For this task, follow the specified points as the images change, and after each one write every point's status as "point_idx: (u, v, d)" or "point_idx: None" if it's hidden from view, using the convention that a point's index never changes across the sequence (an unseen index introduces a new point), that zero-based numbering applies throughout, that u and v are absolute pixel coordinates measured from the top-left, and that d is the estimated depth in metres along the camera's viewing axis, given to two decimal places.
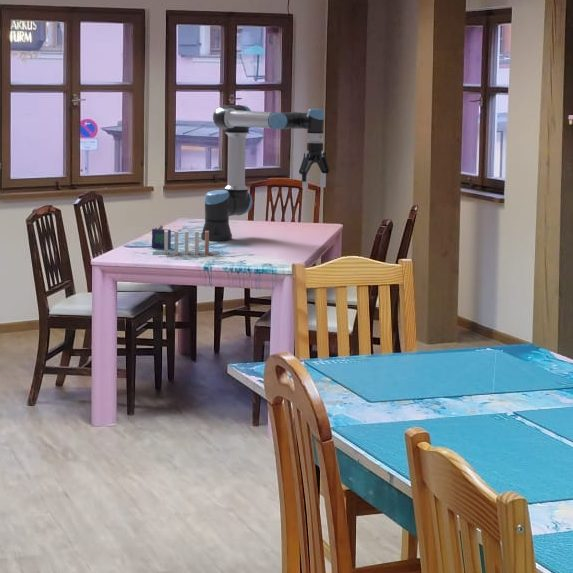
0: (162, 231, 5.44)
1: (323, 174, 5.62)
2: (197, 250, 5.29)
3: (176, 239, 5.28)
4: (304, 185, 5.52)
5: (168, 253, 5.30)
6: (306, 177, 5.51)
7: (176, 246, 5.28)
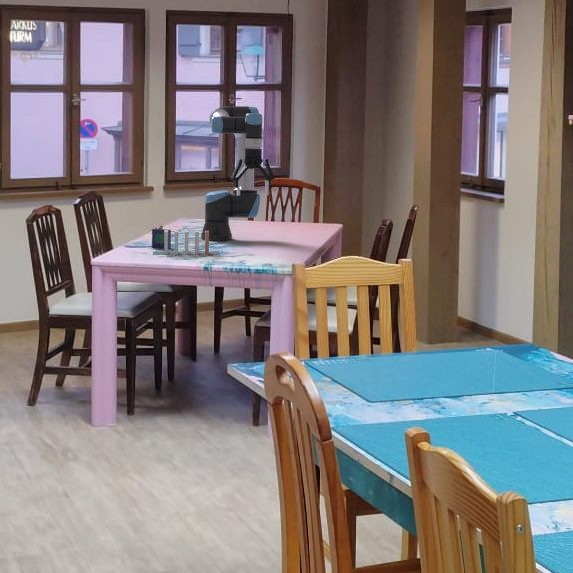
0: (162, 231, 5.44)
1: (266, 181, 5.39)
2: (197, 250, 5.29)
3: (176, 239, 5.28)
4: (237, 192, 5.35)
5: (168, 253, 5.30)
6: (238, 183, 5.34)
7: (176, 246, 5.28)
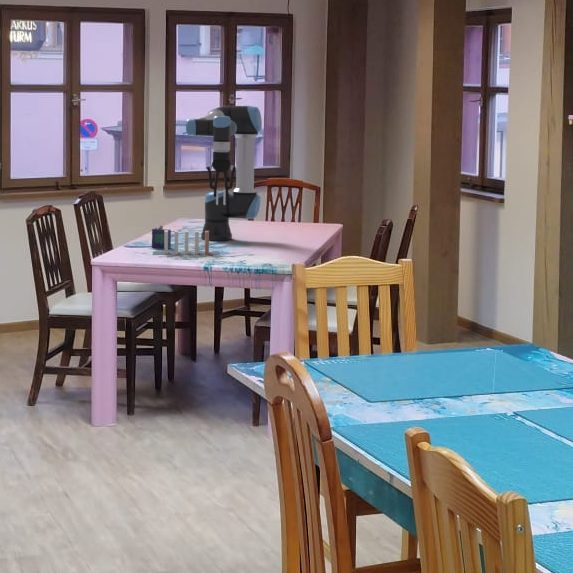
0: (162, 231, 5.44)
1: (223, 191, 5.28)
2: (197, 250, 5.29)
3: (176, 239, 5.28)
4: (216, 200, 5.29)
5: (168, 253, 5.30)
6: (216, 192, 5.27)
7: (176, 246, 5.28)
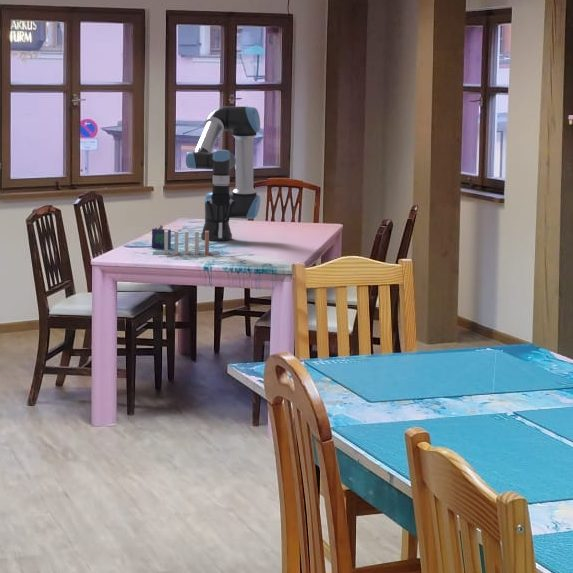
0: (162, 231, 5.44)
1: None
2: (197, 250, 5.29)
3: (176, 239, 5.28)
4: (218, 234, 5.32)
5: (168, 253, 5.30)
6: (218, 226, 5.30)
7: (176, 246, 5.28)
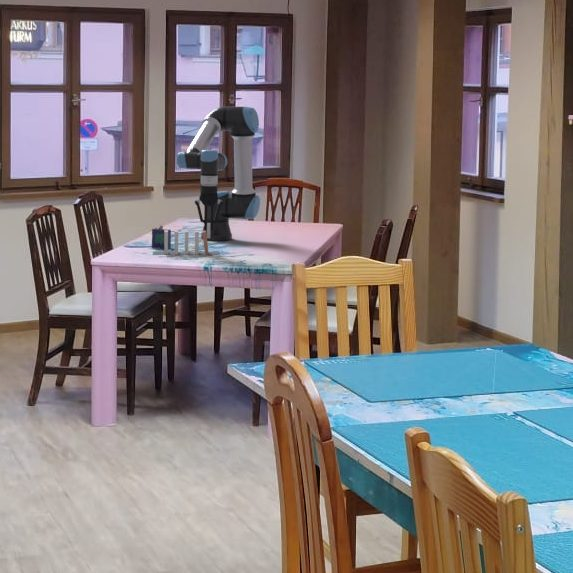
0: (162, 231, 5.44)
1: None
2: (197, 250, 5.29)
3: (176, 239, 5.28)
4: (206, 234, 5.31)
5: (168, 253, 5.30)
6: (207, 226, 5.29)
7: (176, 246, 5.28)
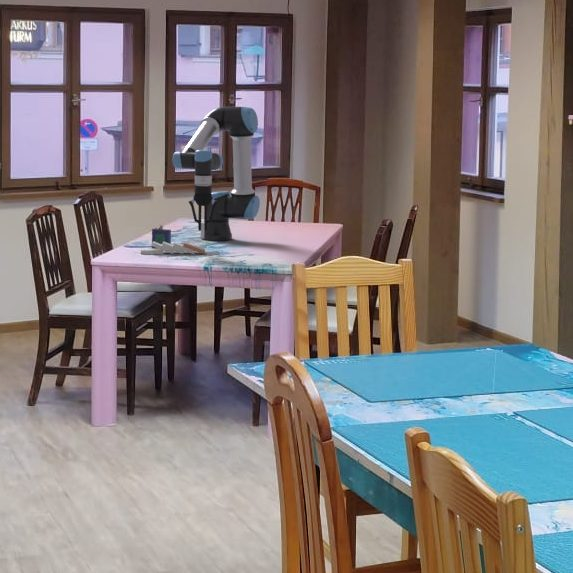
0: (162, 231, 5.44)
1: None
2: (191, 250, 5.29)
3: (159, 247, 5.27)
4: None
5: (168, 253, 5.30)
6: (201, 226, 5.29)
7: (166, 249, 5.28)
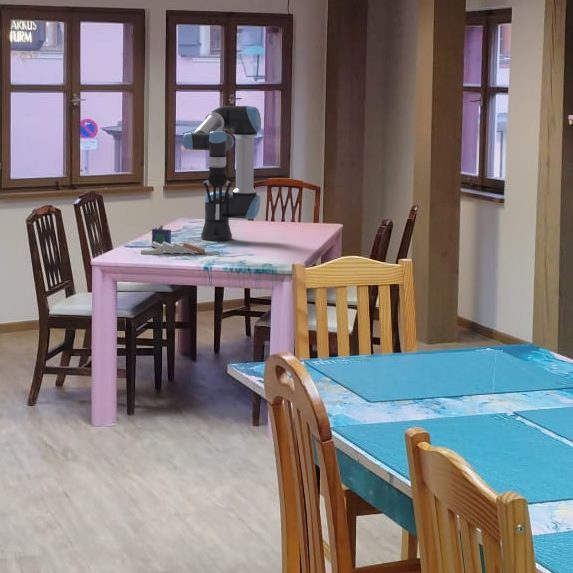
0: (162, 231, 5.44)
1: None
2: (191, 250, 5.29)
3: (159, 247, 5.27)
4: (215, 215, 5.31)
5: (168, 253, 5.30)
6: (215, 207, 5.29)
7: (166, 249, 5.28)
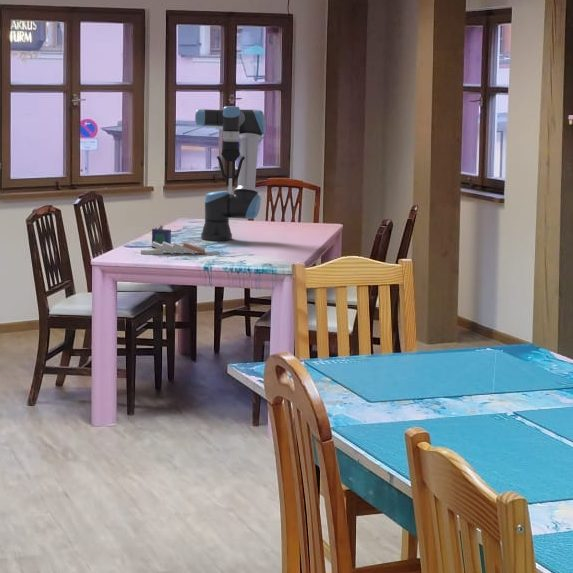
0: (162, 231, 5.44)
1: None
2: (191, 250, 5.29)
3: (159, 247, 5.27)
4: (228, 189, 5.41)
5: (168, 253, 5.30)
6: (228, 181, 5.40)
7: (166, 249, 5.28)
